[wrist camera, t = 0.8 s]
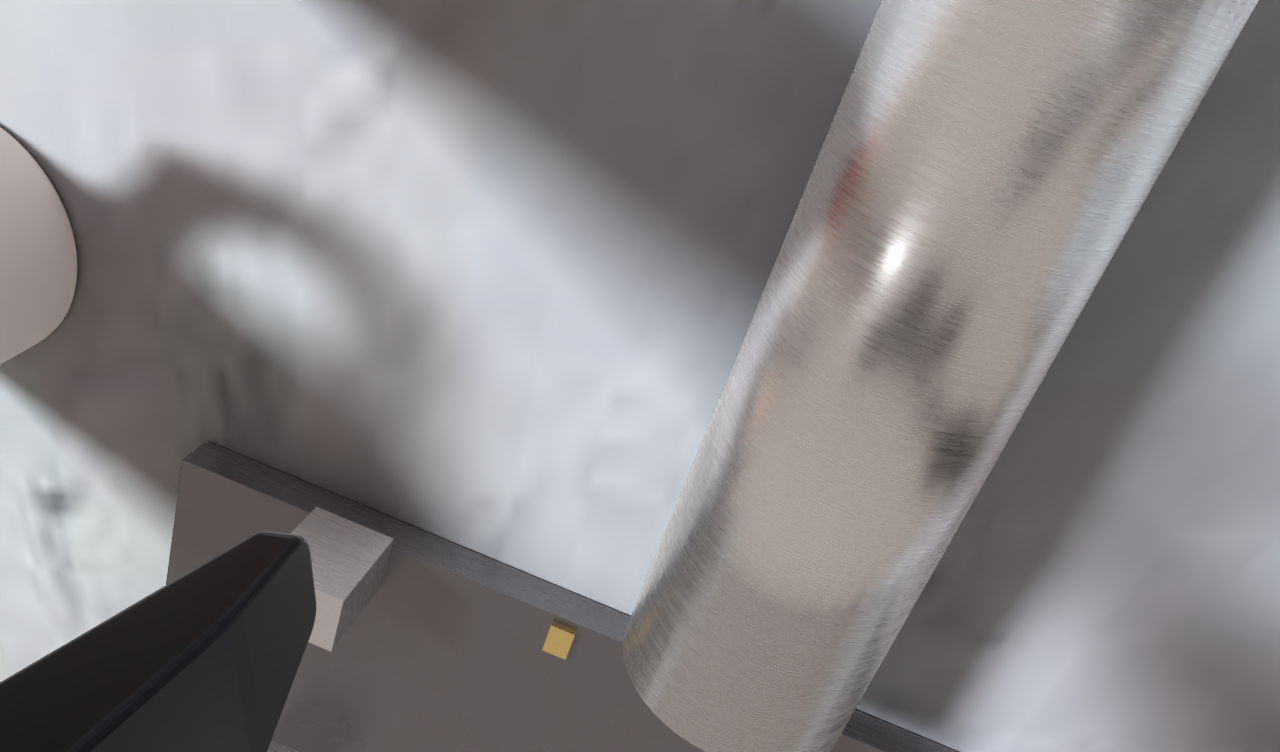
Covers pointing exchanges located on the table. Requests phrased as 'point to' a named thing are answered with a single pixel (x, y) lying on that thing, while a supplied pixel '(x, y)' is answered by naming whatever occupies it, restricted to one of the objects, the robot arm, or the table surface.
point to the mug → (31, 252)
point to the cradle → (435, 634)
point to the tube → (905, 343)
